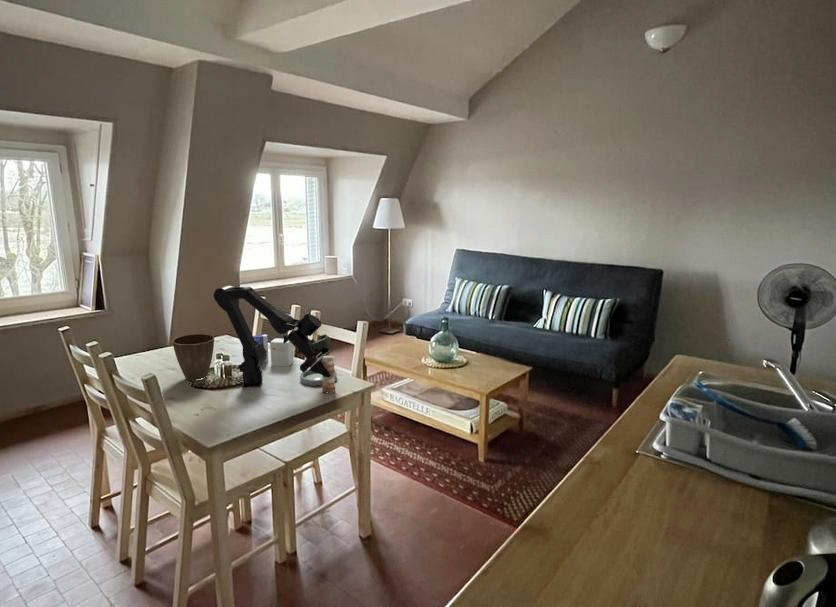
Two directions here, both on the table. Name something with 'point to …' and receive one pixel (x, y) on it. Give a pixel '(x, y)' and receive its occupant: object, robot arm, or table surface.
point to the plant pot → (194, 354)
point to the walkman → (263, 340)
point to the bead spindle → (329, 365)
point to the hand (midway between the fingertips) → (331, 374)
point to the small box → (281, 352)
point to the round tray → (313, 378)
